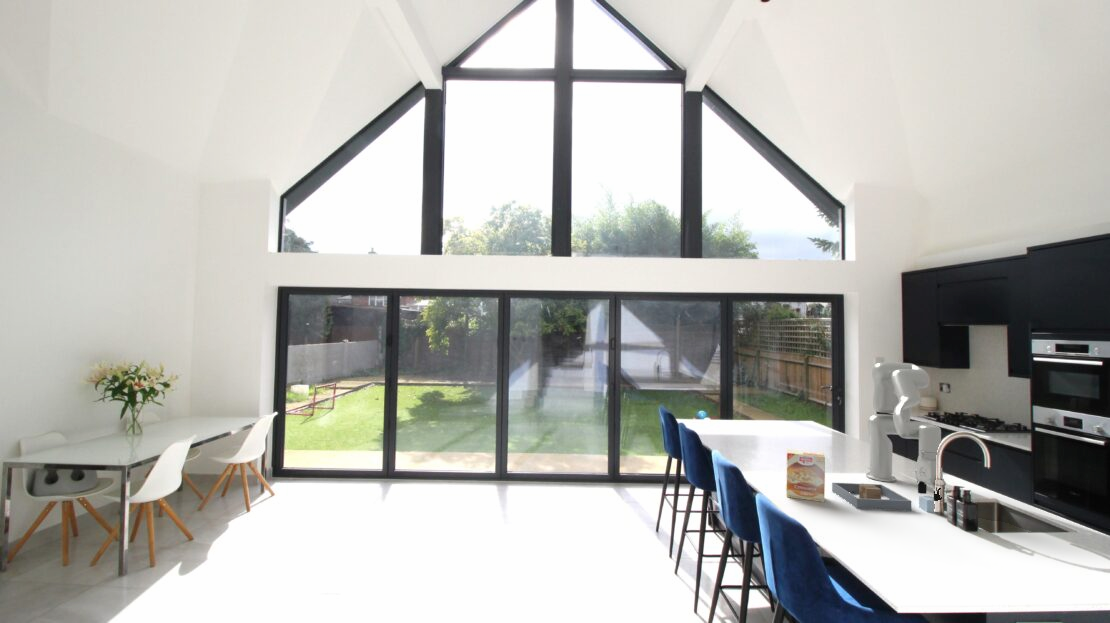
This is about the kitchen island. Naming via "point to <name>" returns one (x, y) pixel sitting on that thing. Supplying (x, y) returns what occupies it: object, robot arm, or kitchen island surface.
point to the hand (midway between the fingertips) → (930, 497)
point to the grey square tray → (884, 504)
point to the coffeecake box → (805, 475)
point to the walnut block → (869, 492)
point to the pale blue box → (926, 503)
